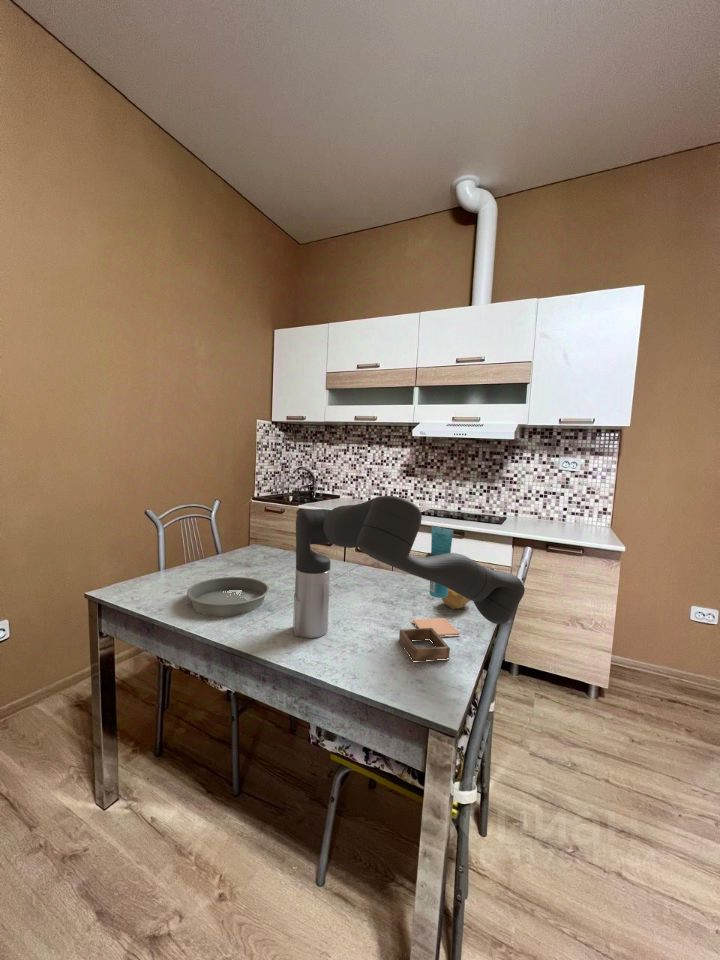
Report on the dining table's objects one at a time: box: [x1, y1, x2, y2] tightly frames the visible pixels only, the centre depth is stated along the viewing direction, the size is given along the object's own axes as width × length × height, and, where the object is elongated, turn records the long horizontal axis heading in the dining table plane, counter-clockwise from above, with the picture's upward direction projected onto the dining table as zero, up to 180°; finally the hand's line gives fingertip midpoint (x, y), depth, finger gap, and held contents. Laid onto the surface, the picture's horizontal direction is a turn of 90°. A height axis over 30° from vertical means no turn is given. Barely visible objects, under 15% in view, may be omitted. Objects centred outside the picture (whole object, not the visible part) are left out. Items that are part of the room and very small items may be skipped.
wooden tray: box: [398, 628, 451, 662], centre depth 103 cm, size 9×11×3 cm
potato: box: [441, 588, 471, 609], centre depth 133 cm, size 10×14×8 cm
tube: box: [429, 525, 454, 599], centre depth 114 cm, size 7×5×19 cm, turn 46°
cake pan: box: [186, 576, 270, 617], centre depth 128 cm, size 25×25×4 cm
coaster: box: [412, 617, 461, 636], centre depth 116 cm, size 10×10×1 cm
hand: (436, 556), depth 117 cm, fingers closed on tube, 4 cm apart
